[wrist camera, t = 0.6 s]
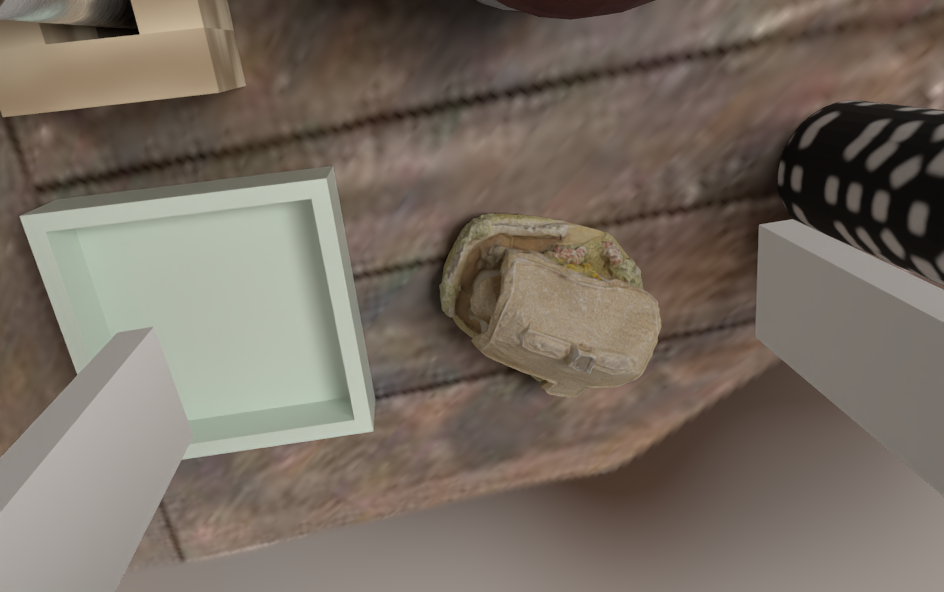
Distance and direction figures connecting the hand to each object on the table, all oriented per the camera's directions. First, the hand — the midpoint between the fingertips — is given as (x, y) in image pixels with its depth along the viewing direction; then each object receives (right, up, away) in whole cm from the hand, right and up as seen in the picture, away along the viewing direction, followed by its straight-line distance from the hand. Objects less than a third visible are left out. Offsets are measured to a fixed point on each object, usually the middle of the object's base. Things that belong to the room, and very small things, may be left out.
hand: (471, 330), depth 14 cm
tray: (-15, 0, +27) cm, 31 cm away
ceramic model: (+5, +1, +29) cm, 30 cm away
